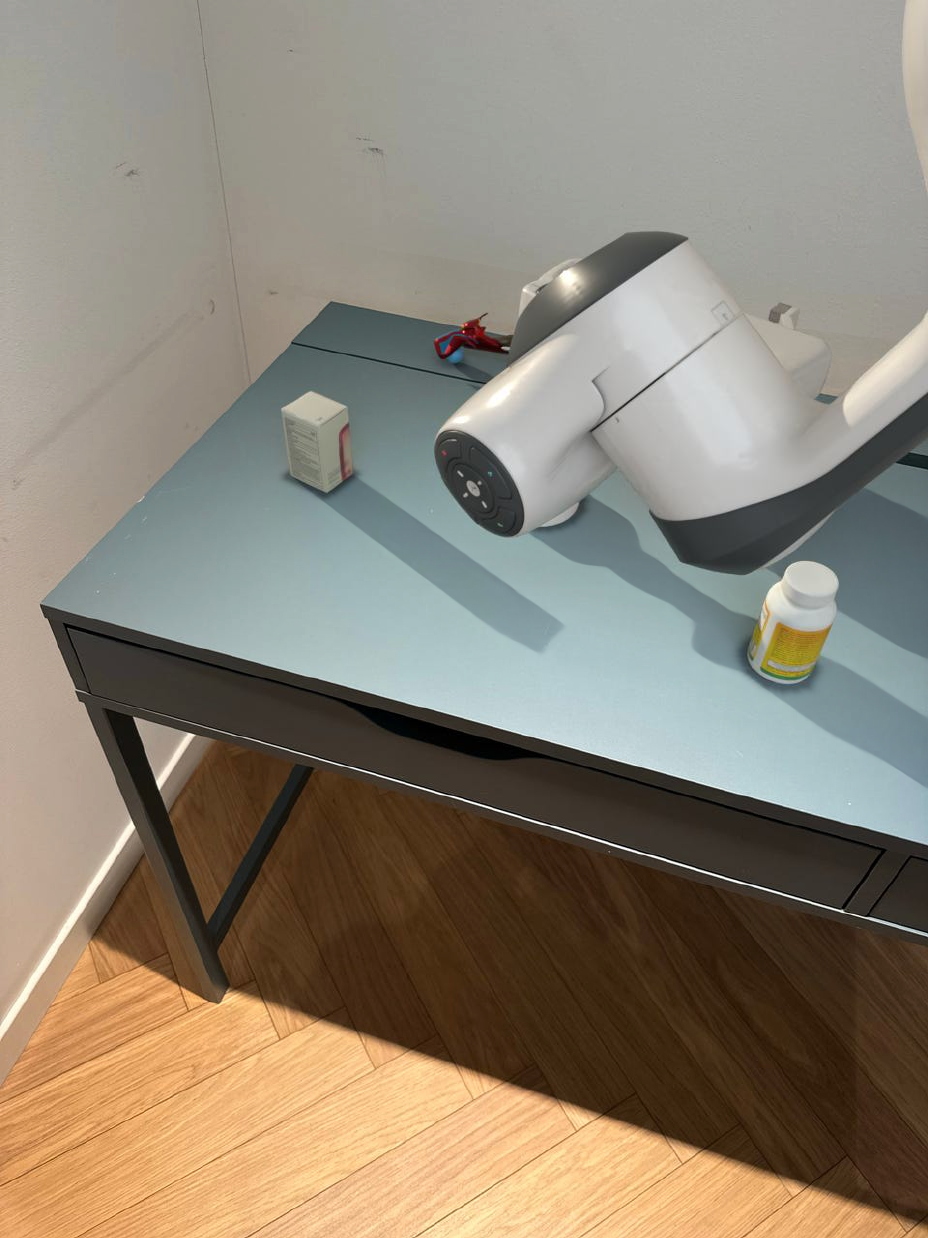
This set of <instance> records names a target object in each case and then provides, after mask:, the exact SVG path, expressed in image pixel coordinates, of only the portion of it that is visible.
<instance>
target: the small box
mask: <svg viewBox="0 0 928 1238" xmlns="http://www.w3.org/2000/svg"><path fill="white" fill-rule="evenodd" d="M280 410H281V418H282V424H283V429H284V430H283V432H284V438H285V446H286V452H287V460H288V467H289V475H290V476H291V477H292V478H295V479H297V480H299V482H300V481H301V482H302V483H305V484H306V485H309V486H311V487H313V488H314V489H317V490H319V491H321V492H322V493H325V494H328V493H329V492H330V491H332V490H333V489H335V488H336V487H337V486H339V485H340V484H341V483H343V482H344V481H345V480H346V479H347V478H349V477H350V476H352V475H353V474H354V464H353V453H352V443H351V430H350V420H349V408H348V406H346V405H344V404H342V403H340V402H337V401H336V400H333V399H331V398H328V397H327V396H325V395H322V394H319V393H317V392H315V391H312V390H310V391H308V392H306V393H304V394H303V395H301V396H300V397H298V398H296V399H295V400H293V401H292V402H290V403H288V404H287V405H285V406H283V407H281V408H280Z"/></svg>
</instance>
